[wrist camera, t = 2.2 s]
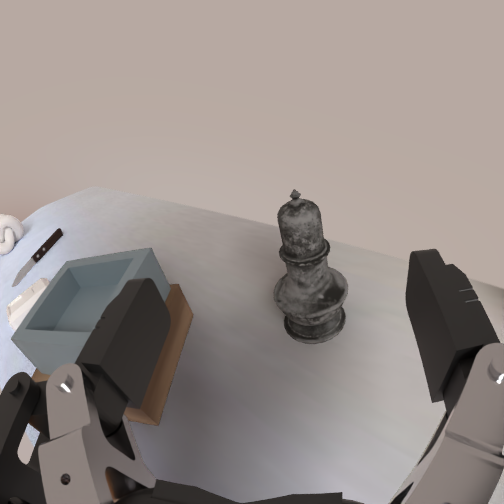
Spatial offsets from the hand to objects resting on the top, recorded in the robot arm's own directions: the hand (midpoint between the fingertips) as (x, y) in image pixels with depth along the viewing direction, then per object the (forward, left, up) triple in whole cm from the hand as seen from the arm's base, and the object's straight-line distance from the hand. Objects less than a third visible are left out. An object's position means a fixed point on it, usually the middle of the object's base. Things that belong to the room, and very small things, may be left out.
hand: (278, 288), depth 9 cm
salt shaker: (-4, -11, -14) cm, 18 cm away
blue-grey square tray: (+14, -13, -10) cm, 21 cm away
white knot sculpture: (+57, -61, -14) cm, 84 cm away
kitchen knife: (+38, -45, -14) cm, 60 cm away
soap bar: (+32, -28, -15) cm, 45 cm away
